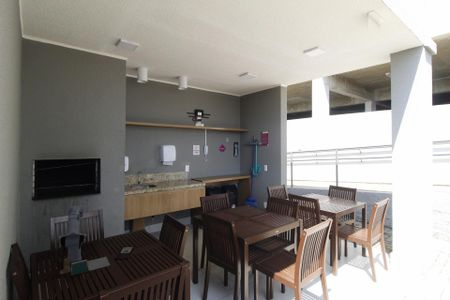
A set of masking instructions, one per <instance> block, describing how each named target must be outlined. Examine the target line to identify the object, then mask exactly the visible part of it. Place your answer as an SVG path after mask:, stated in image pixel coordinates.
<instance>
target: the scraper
mask: <svg viewBox="0 0 450 300" xmlns="http://www.w3.org/2000/svg"><path fill="white" fill-rule="evenodd" d="M66 273H71V262H70V257H69V258H67V257H66V258H63V269H61V270H59V275H63V274H66Z"/></svg>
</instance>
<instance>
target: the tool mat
mask: <svg viewBox="0 0 450 300" xmlns="http://www.w3.org/2000/svg"><path fill="white" fill-rule="evenodd" d="M110 266H111V264H110V262H109V259H108V258H107V256H104V257H100V258H96V259H91V260H87V271H88V272H91V271H96V270H99V269H102V268H103V269H104V268H107V267H110Z"/></svg>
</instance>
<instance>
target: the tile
mask: <svg viewBox="0 0 450 300" xmlns="http://www.w3.org/2000/svg"><path fill="white" fill-rule="evenodd" d="M87 261H88V259H84V260H83V259H82V260H79V261H75V262H70V268H71V272H70V273H71V277H72V276H76V275H80V274H83V273H87V272H88V266H87Z"/></svg>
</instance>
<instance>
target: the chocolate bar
mask: <svg viewBox="0 0 450 300" xmlns="http://www.w3.org/2000/svg"><path fill="white" fill-rule="evenodd" d="M134 249H135V246H129V247H128V246H127V247H122V248H120V250H119V251H118V252H117V254H116V256H115V257H114V258H113V259H114V261H117V260H120V261H121V260H128V259H129V258H130V256H131V254H132V253H133V251H134Z"/></svg>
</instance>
